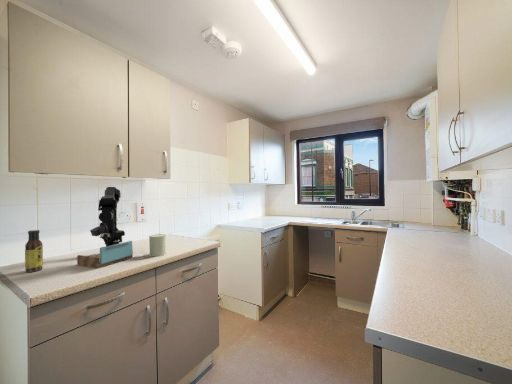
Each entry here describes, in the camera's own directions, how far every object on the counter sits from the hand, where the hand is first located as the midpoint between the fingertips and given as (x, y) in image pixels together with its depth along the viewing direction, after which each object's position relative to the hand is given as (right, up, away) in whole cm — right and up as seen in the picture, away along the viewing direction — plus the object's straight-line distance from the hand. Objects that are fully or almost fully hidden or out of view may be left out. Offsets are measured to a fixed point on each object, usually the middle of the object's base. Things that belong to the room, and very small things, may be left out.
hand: (108, 248), depth 126 cm
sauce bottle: (-28, -8, -13) cm, 32 cm away
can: (+22, -7, +13) cm, 26 cm away
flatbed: (-2, -7, +1) cm, 7 cm away
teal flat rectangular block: (+6, -5, -2) cm, 8 cm away
